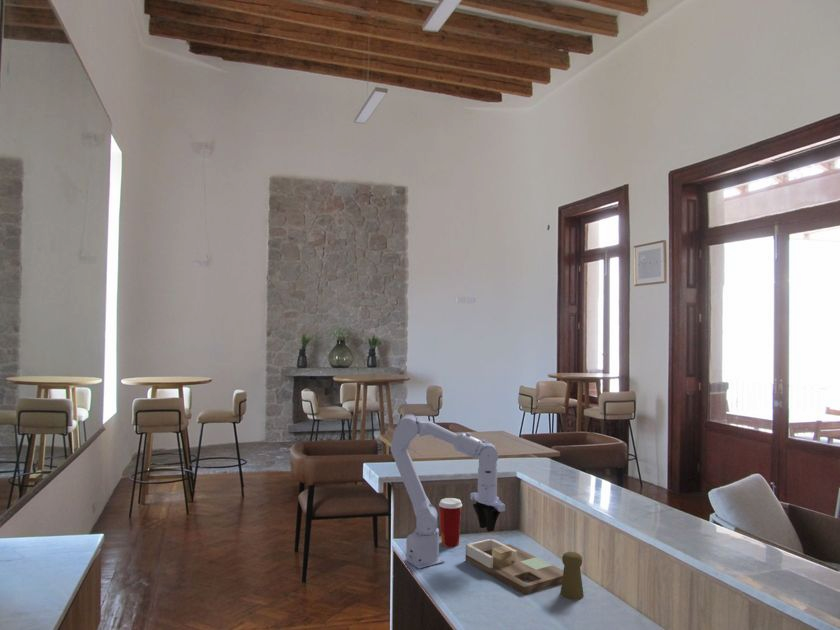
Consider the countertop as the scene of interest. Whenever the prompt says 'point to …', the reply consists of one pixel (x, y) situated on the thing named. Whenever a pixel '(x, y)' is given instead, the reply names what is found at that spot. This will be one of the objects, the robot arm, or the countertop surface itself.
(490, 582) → the countertop surface
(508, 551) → the block
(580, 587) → the cork
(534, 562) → the pad
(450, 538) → the paper cup
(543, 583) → the board
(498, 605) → the countertop surface
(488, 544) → the cubby
